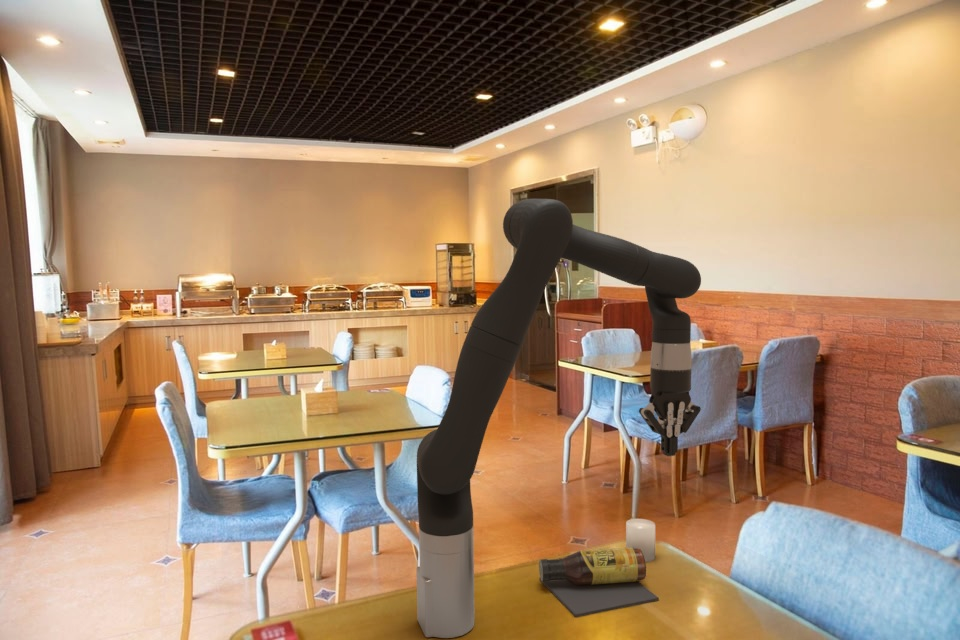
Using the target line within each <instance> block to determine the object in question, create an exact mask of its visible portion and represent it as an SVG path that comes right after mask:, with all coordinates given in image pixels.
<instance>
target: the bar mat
mask: <svg viewBox="0 0 960 640" xmlns="http://www.w3.org/2000/svg"><path fill="white" fill-rule="evenodd" d="M539 581H540V582H541V583H542V584H543V586H545V587H546V588H547V589H548V590H549V591H550V593H552V595H553V596H554V597H555V598H557V600H558V601H559V602H560V603H561V604H562V605H563V606H564V608H565V609H567V610H568V612H570V614H571V615H572V616H574V618H578V617H579V618H580V617H583V616H584V617H585V616H588V615H593V614H594V615H595V614H599V613H603V612H608V611H615V610H618V609H624V608H627V607H632V606H633V607H634V606H638V605H642V604H643V605H644V604H647V603H648V604H649V603H653V602H657V601H659V600H660V599H659V596H657V595H656V594H655V593H653V592H652V591H651V590H649V589H648V588H647V587H646V586H644V585H643V584H642V583H641V582H640V581H638V580H637V581H636V582H624V583H609V584H595V585H590V584H586V585H577V584H574V583H572V582H570V581H568V580H566V579H564V580H550V581H548V582H542V581H541V579H540V576H539Z"/></svg>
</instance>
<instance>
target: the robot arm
mask: <svg viewBox="0 0 960 640" xmlns="http://www.w3.org/2000/svg"><path fill="white" fill-rule="evenodd" d="M502 221H503V222H502V229H503V234H504V236H505V239H506V240H507V241H508V243H509V244H510V245H511V246H512V247H513V248H514V249H516V251H515V254H514V257H513V260H512V262H511V265H510V267H509V269H508V270H507V272H506V275H505V276H504V277H503V279H502V280H501V282H500V283H499V285H498V286H497V287H496V289H495V290H494V291H493V292H492V293H491V294H490V295H489V297H487V299H486V300H485V301H484V302H483V303H482V305H481V306H480V308H479V309H478V311H477V312H476V314H475V316H474V317H473V319H472V322H471V324H470V326H469V329H468V331H467V334H466V335H465V339H464V341H463V343H462V347H461V349H460V352H459V356H458V360H457V363H456V364H457V365H456V369H455V372H454V377H453V383H452V386H451V393H450V397H449V400H448V403H447V407H446V409H445V412H444V414H443V416H442V419H441V420H440V423H439V424H438V427H437V429H433V430H431V431H430V432H428V433H427V434H426V435H425V436H424V437H423V438H422V439H421V441H420V443H419V445H418V447H417V451H416V487H417V489H416V490H417V492H416V493H417V512H418V513H417V514H418V516H417V517H418V538H419V539H418V541H419V542H418V545H419V549H418V550H419V551H418V552H419V566H417V567H416V611H417V616H416V618H417V622H418V624H419V627H420V628H421V631H422V632H423V634H424V637H425V638H432V637H435V638H440V639H449V638H450V639H452V638H458V637H460V636H464V635H466V634H468V633H469V632H471V630H472V629H473V628H474V626H475V615H476V614H475V613H476V612H475V611H476V610H475V563H474V562H475V561H474V560H475V558H474V557H475V554H474V553H475V551H474V509H473V508H474V507H473V502H472V492H471V491H472V489H471V479H472V477H473V475H474V472H475V470H476V467H477V462H478V459H479V455H480V451H481V449H482V445H483V442H484V441H483V440H484V438H485V434H486V431H487V428H488V425H489V423H490V419H491V417H492V415H493V414H494V410H495V408H496V407H497V405H498V403H499V401H500V398H501V396H502V394H503V392H504V390H505V387H506V385H507V383H508V380H509V377H510V376H511V373H512V371H513V369H514V367H515V366H516V365H515V364H516V362H517V360H518V357H519V354H520V352H521V350H522V347H523V345H524V341H525V339H526V336H527V333H528V331H529V328H530V326H531V324H532V322H533V321H532V320H533V318H534V316H535V313H536V311H537V309H538V306H539V304H540V302H541V299H542V297H543V295H544V292H545V289H546V288H547V285H548V283H549V281H550V280H551V277H552V275H553V273H554V272H555V270H556V269H557V266H558V264H559V263H560V261H561V259H565V260H568V261H571V262H573V263H575V264H579V265H581V266H584V267H587V268H590V269H591V270H594V271H597V272H599V273H602V274H604V275H607V276H609V277H612V278H614V279H616V280H619V281H622V282H624V283H627V284H630V285H633V286H638V287H644V289H645V294H646V300H647V304H648V309H649V312H650V314H651V315H650V316H651V318H652V335H651V337H652V338H651V339H652V340H651V341H652V342H651V349H650V377H649V378H650V380H649V382H650V384H649V386H650V387H649V388H650V391H651V394H650V396H649V399H648V402H649V403H648V404H647V405H646V406H645V407H639V409H638V413H639V415H640V416H641V417H642V419H643V420H644V422H645V423H646V425H647V426H648V427H649V429H650V430H651V432H653V433H655V434H658V435H660V451H661V452H662V454H663V455H664V456H666V457H673V456H674V457H675V456H676V454H677V452H678V450H679V448H678V447H679V446H678V444H679V436H680V435H682V434H683V433H684V434H686V433H687V432H688V431H689V429H690V428H691V426H692V424H693V423H694V422H695V420H696V418H697V417H698V416H699V413H700V412H701V409H702V408H701V406H700V405H696V404H695V403H694V402H692V398H691V395H690V391H692V390H691V389H692V360H693V359H692V356H693V354H692V349H691V347H692V345H691V339H692V338H691V333H692V332H691V331H692V329H691V327H692V321H691V320H692V319H691V316H690V314H688V313H687V312H685V311H683V310H681V309H679V307H678V304H677V300H676V299H687V298H690V297H692V296H693V295H695V294H696V293H697V292H698V291H699V289H700V287H701V284H702V275H701V274H700V271H699V269H698V268H697V267H696V266H695V265H694V264H693V263H692V262H690V261H689V260H687V259H683V258H681V257H678V256H673V255H668V254H665V253H659V252H656V251H652V250H650V249H648V248H645V247H644V246H641V245H639V244H636V243H633V242H631V241H629V240H626V239H623V238H620V237H617V236H613V235H609V234H606V233H601V232H598V231H594V230H591V229H587V228H583V227H582V226H579V225H576V224H573V216H572V213H571V210H570V208H569V207H568V206H567V205H566V203H564V202H562V201H560V200H559V199H558V200H557V199H553V198H552V199H551V198H525V199H521V200H519V201H517V202H516V203H514V204H512V205H511V206H510V207H509V208H508V209H507V211H506V213H505V215H504V217H503V220H502ZM656 416H657V417H656Z"/></svg>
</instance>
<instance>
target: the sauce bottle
mask: <svg viewBox="0 0 960 640" xmlns="http://www.w3.org/2000/svg"><path fill="white" fill-rule="evenodd" d="M646 564H647V562H645V559H644V555H643V553H642V551H641V550H640V549H639V548H632V547H626V546H625V547H615V548H614V547H613V548H602V549H601V548H598V549H583V550H578V551H576V552H574V553H571V554H569V555H567V556H565V557H563V558H557V559H556V558H555V559H554V558H553V559H547V558H541V559H539V561H538V571H539V577H540V579H541V581H542V582H548V581H550V580H564V579H566V580H568V581H570V582H572V583H574V584H577V585H586V584H590V585H595V584H609V583H624V582H636V581H638V582H640V581H643V580H645V579H646V577H647V565H646ZM540 579H539V580H540ZM541 581H540V582H541ZM542 582H541V583H542Z"/></svg>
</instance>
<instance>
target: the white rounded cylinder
mask: <svg viewBox="0 0 960 640" xmlns="http://www.w3.org/2000/svg"><path fill="white" fill-rule="evenodd" d="M626 547H632V548H639V549H640V550H641V551H642V553H643V555H644V559H645V563H650V561H651V562H653V561H654V560H655V559H656V523H655V522H654V521H652V520H650V519H645V518H631V519H628V520H626V522H625V548H626Z"/></svg>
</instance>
